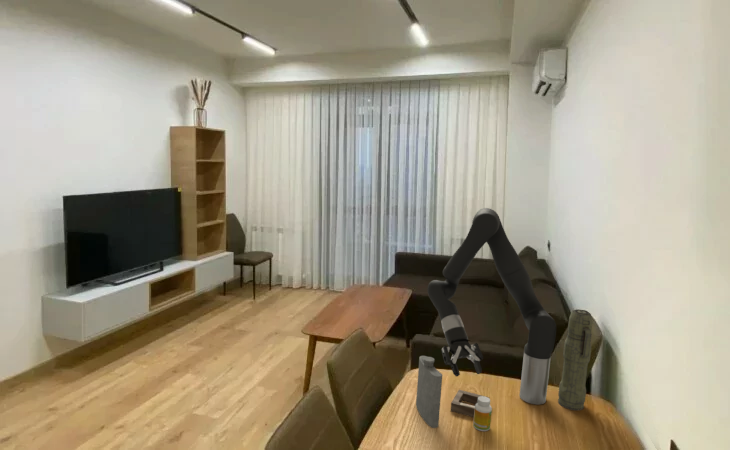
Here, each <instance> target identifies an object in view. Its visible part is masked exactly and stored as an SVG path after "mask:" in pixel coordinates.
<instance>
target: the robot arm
mask: <svg viewBox="0 0 730 450" xmlns="http://www.w3.org/2000/svg"><path fill="white" fill-rule="evenodd" d="M472 219H473V220H472V221H471V226H470V228H469V231H468V233H467V235H466V237H465V239H464V241H463V242H462V244H460V246H459V247H458V249H456V251H455V252H454V253H453V255H452V256H451V257H450V259H449V260H448V261H447V264H446V265H445V266H444V268H443V270H442V276H444V278H445V280H437V279H433V280H431V281H430V282H429V283H428V285H427V289H426V290H427V294H428V297H429V299H430V302H431V303H432V304H433V306H434V307H435V309H436V311H437V313H438V316H439V319H440V322H441V327H442V331H443V334H444V337H445V341H446V343H447V345H444V346H443V347H442V348H440V349H441V350H440V351H441V354H442V359H443V362H444V365H445V366H447V365H448V366H450V368H451V371H452V374H453V375H454V376H455V377H459V376H460V375H461V373H460V370H459V367H458V364H457V360H458V359H466V358H467V359H468V360H470V361H471V362H472V363H473V366H474V370H475V372H476V375H480V374H481V373H482V371H483V369H482V365H481V363H480V362H481V361H482V360H483V359H484V355H483V353H482V351H481V348H480V345H479V343H477V342H475V343H473V344H470V342H469V337H468V334H467V332H466V328H465V326H464V323H463V320H462V318H461V316H460V313H459V311H458V307H457V305H456V304H455V302H453V301H451V299H452V298H453V297H454V296H455V294H456V291H457V288H458V285H459V283H460V280H461V278H462V277H463V276H464V274H465V272H466V270H467V269H468V268H469V266H470V265H471V263H472V261H473V260H474V259H475V257H476V255H477V254H478V253H479V251H480V250H481V249H482V247H483V246H484V245H485V244H487V245H488V247H489V250H490V253H491V256H492V259H493V262H494V265H495V268H496V271H497V273H498V275H499V276H500V278H501V280H502V283H503V284H504V286H505V288H506V289H507V291H508V293H509V294H510V295H511V297H512V299H514V301H515V303H516V305H517V306H518V308H519V311H520V314H521V315H522V319H523V321H524V324H525V326H526V328H527V330H528V338H527V343H526V344H525V345H524V348H523V359H522V368H521V369H522V370H521V378H520V379H521V380H520V386H519V398H520V399H521V400H522V401H524V402H526V403H527V404H531V405H544V404H545V403H546V401H547V392H548V385H549V376H550V366H551V357H552V352H553V351H554V347H555V343H556V335H557V324H556V321H555V319H554V317H552V316H551V315H550V314H549V313H548V312H547V311H546V309H545V308H544V306H543V305H542V304H541V302H540V300H539V299H538V298H537V295H536V294H535V293H536V292H535V290H534V287H533V283H532V280H531V277H530V274H529V273H528V271H527V268H526V267H525V265H524V263H523V261H522V259H521V258H520V256H519V254H518V252H517V251H516V249H515V247H514V246H513V245H512V243H511V241H510V239H509V238H508V236H507V234H506V231H505V229H504V226H503V224H502V221H501V219H500V216H499V214H498V213H497V212H496V211H495V210H494V209H492V208H490V207H489V208H488V207H483V208H480V209H479V210H478V211H477V212H476V213H475V214H474V216H473V218H472ZM449 352H450V353H451V354H452V355H451V357H450V353H449Z"/></svg>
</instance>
